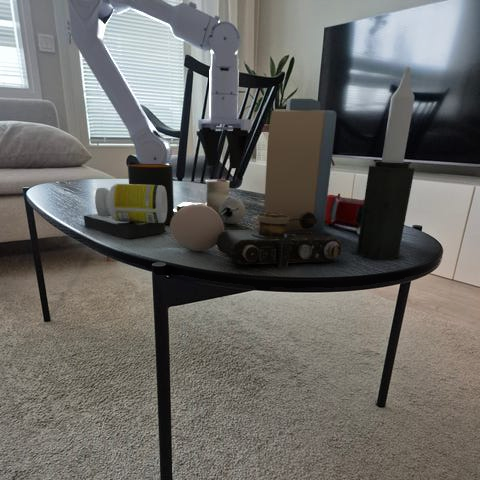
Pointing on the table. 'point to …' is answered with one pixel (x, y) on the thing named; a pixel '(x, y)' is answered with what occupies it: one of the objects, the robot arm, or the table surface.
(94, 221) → the vhs tape
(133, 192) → the pill bottle
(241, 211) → the reed diffuser
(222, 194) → the pointer wheel
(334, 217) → the toy car
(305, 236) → the camera
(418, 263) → the table surface
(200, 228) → the egg
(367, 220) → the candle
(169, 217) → the mug
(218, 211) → the dial console
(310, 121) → the tall beige block
